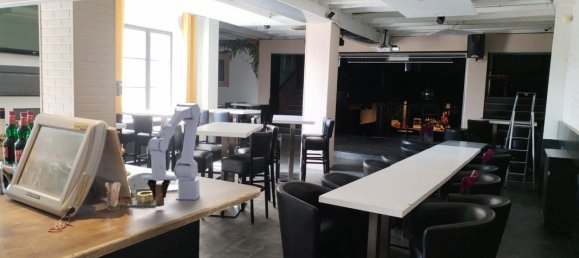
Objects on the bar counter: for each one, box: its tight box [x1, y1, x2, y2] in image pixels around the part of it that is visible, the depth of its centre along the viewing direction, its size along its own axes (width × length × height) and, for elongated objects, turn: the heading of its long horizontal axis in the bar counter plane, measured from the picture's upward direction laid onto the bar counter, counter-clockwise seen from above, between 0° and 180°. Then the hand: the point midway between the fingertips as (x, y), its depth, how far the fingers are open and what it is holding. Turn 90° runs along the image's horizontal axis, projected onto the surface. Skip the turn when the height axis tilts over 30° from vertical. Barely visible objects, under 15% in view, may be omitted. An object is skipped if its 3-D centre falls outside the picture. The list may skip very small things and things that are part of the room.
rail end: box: [155, 183, 165, 207], centre depth 180 cm, size 4×4×9 cm
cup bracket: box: [127, 188, 157, 208], centre depth 189 cm, size 12×12×5 cm
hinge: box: [127, 172, 152, 196], centre depth 208 cm, size 17×5×10 cm, turn 152°
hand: (159, 197), depth 180 cm, fingers closed on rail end, 3 cm apart
